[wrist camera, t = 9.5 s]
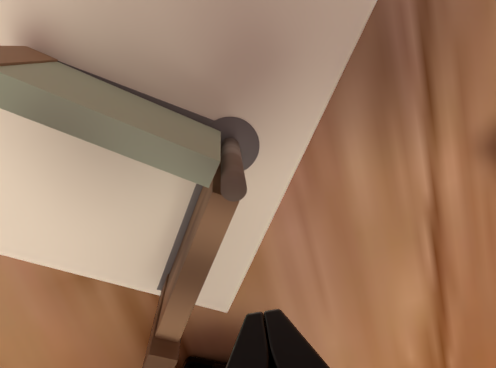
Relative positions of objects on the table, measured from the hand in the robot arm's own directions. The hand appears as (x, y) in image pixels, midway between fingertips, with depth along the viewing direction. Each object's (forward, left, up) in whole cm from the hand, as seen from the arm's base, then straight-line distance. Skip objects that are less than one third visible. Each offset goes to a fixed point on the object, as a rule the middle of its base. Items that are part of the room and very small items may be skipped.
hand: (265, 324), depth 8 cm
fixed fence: (-4, +1, -11) cm, 12 cm away
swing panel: (+1, +7, -11) cm, 13 cm away
